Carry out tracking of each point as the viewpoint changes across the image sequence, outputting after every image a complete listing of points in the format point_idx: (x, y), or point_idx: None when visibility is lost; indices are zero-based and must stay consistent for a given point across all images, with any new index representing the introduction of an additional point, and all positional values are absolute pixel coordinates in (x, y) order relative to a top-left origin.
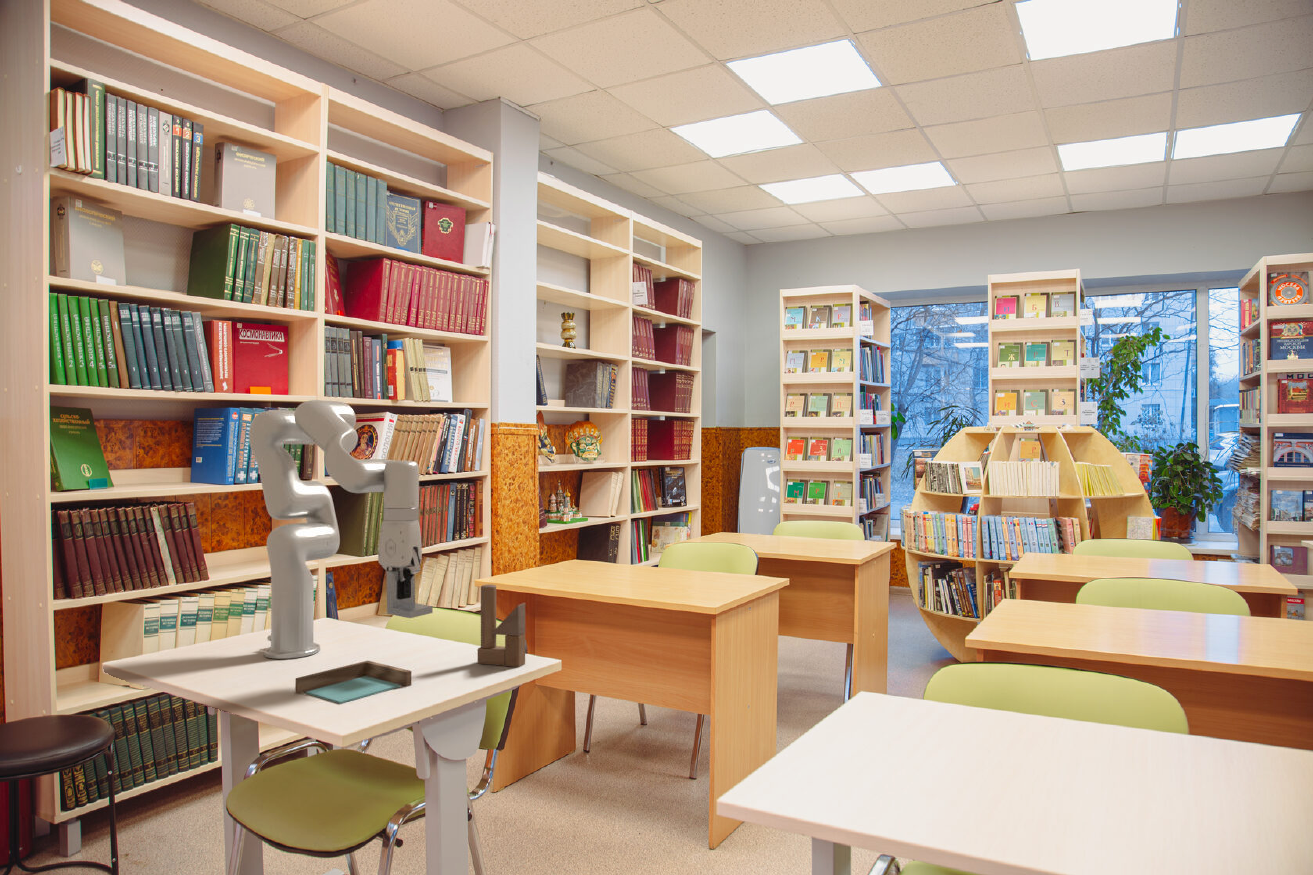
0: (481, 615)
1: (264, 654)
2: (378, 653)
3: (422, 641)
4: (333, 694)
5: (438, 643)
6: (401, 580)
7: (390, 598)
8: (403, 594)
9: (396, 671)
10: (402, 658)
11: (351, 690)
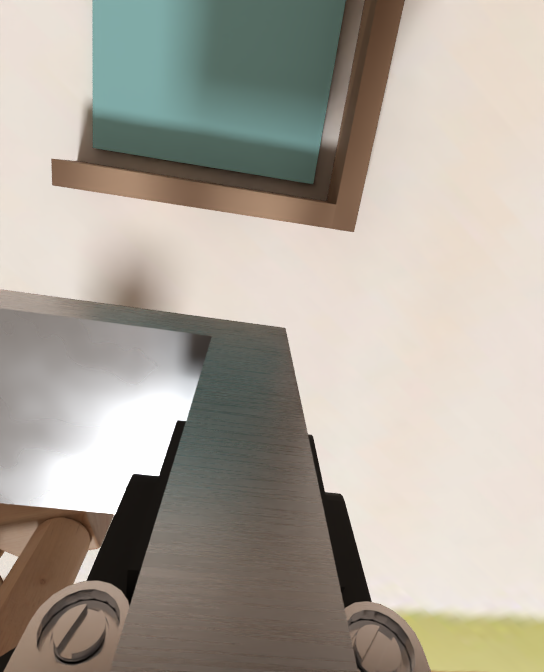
0: (6, 638)
1: None
2: (489, 432)
3: (447, 573)
4: None
5: (386, 576)
6: (103, 606)
7: (236, 372)
8: (150, 475)
9: (126, 170)
10: (371, 422)
11: None
